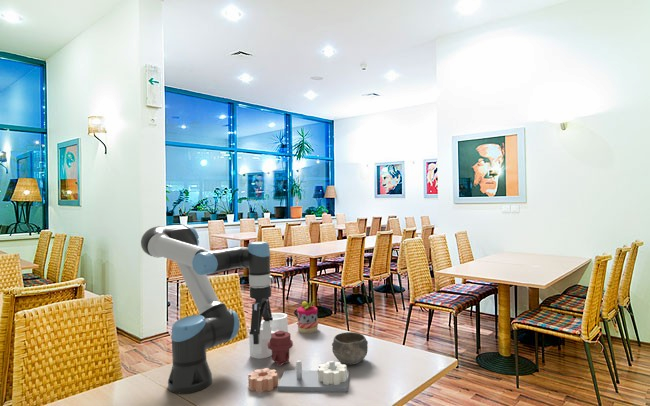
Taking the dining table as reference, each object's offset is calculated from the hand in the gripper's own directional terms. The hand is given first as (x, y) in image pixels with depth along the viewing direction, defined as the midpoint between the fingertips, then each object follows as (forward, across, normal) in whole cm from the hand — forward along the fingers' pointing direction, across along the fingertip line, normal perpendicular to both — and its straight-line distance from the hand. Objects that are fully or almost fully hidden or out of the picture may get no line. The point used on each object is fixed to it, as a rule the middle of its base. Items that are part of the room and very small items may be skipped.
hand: (262, 345), depth 143 cm
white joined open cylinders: (+14, +36, +6) cm, 40 cm away
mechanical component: (+14, +20, -2) cm, 25 cm away
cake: (+14, +60, -7) cm, 62 cm away
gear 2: (+13, +3, -24) cm, 28 cm away
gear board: (+14, +3, -18) cm, 23 cm away
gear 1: (+14, 0, 0) cm, 14 cm away
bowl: (+15, +22, -30) cm, 40 cm away
